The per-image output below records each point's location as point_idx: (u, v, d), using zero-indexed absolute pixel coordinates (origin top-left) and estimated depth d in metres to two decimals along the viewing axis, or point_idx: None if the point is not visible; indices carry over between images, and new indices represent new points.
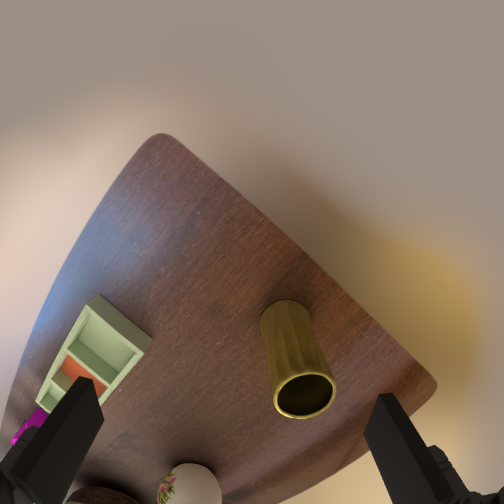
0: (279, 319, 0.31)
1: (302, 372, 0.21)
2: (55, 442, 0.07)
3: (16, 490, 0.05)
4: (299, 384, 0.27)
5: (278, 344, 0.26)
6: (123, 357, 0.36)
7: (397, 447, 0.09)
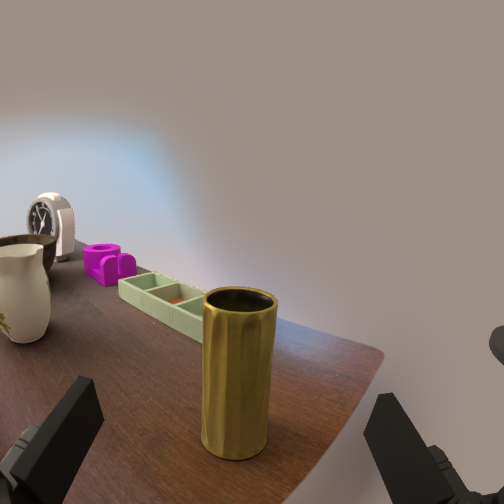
0: None
1: None
2: (55, 442, 0.07)
3: (16, 490, 0.05)
4: None
5: None
6: None
7: (397, 447, 0.09)
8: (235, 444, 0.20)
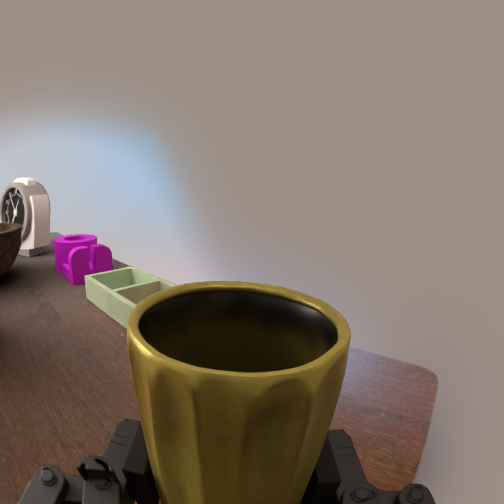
0: None
1: (334, 310, 0.08)
2: None
3: (125, 493, 0.07)
4: None
5: None
6: None
7: None
8: None
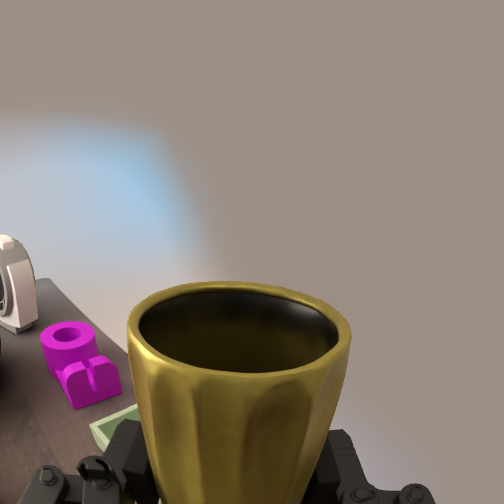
0: None
1: (335, 310, 0.08)
2: None
3: (125, 493, 0.07)
4: None
5: None
6: None
7: None
8: None
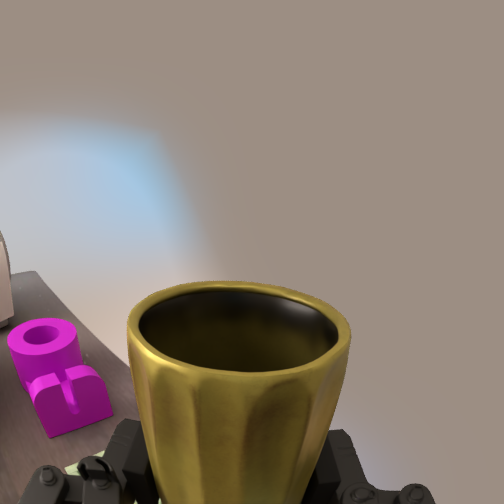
0: None
1: (335, 309, 0.08)
2: None
3: (124, 493, 0.06)
4: None
5: None
6: None
7: None
8: None
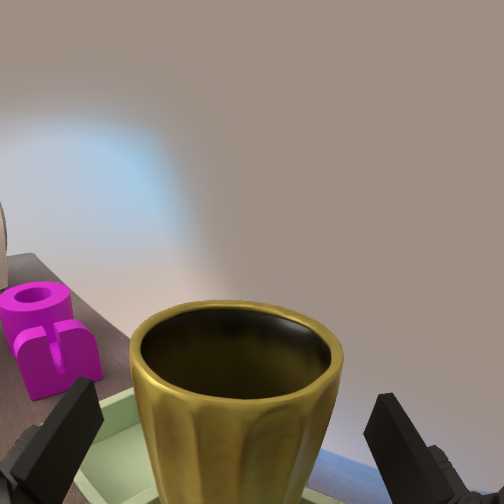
0: None
1: (329, 331, 0.08)
2: (55, 442, 0.07)
3: (16, 490, 0.05)
4: None
5: None
6: None
7: (397, 447, 0.09)
8: None
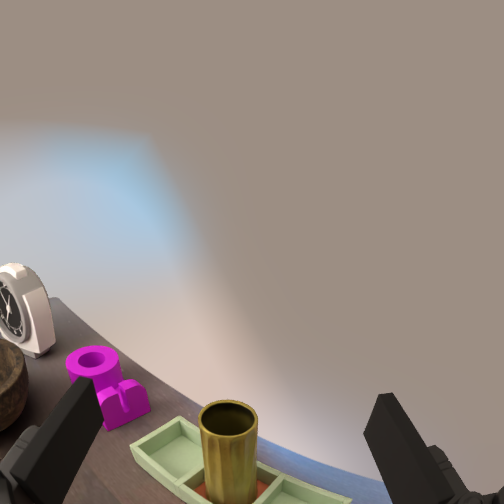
0: None
1: None
2: (55, 442, 0.07)
3: (16, 490, 0.05)
4: None
5: None
6: None
7: (397, 447, 0.09)
8: (232, 503, 0.23)
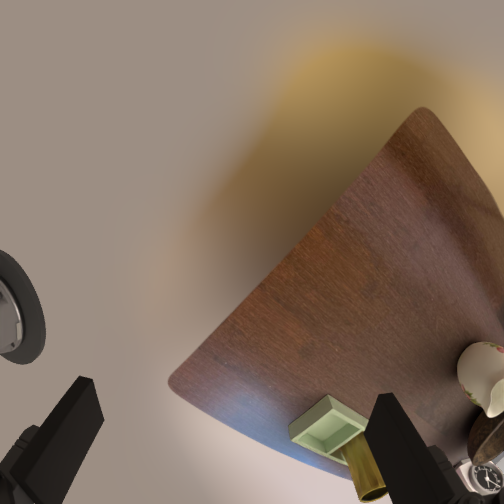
0: None
1: (359, 499, 0.30)
2: (55, 442, 0.07)
3: (16, 490, 0.05)
4: None
5: None
6: None
7: (397, 447, 0.09)
8: (360, 436, 0.42)
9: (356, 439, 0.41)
